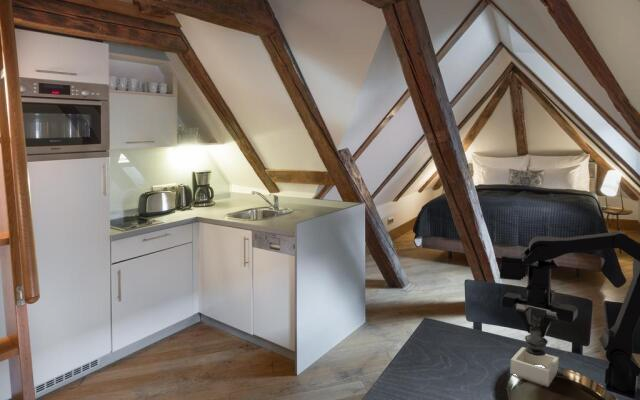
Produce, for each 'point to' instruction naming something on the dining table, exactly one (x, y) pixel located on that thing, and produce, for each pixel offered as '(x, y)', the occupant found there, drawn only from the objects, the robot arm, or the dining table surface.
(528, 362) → the box
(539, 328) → the dark grey tall piece
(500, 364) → the dining table surface
